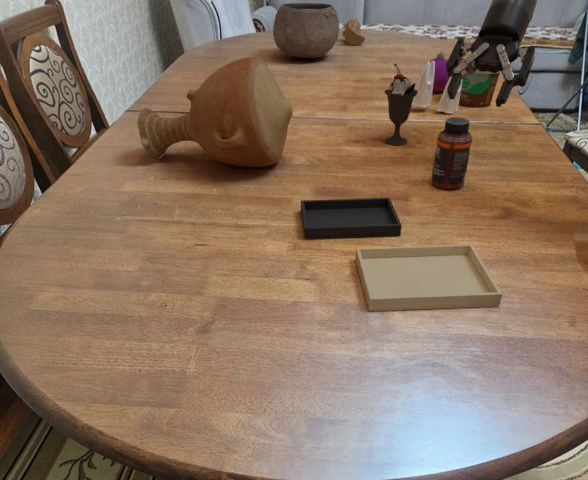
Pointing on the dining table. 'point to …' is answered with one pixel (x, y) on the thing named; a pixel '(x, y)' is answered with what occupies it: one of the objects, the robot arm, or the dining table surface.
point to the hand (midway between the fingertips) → (474, 100)
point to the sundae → (399, 105)
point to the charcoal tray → (349, 218)
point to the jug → (227, 117)
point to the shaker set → (426, 89)
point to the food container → (478, 88)
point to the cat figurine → (353, 32)
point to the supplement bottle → (452, 154)
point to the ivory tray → (425, 278)
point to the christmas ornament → (440, 73)
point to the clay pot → (306, 29)
